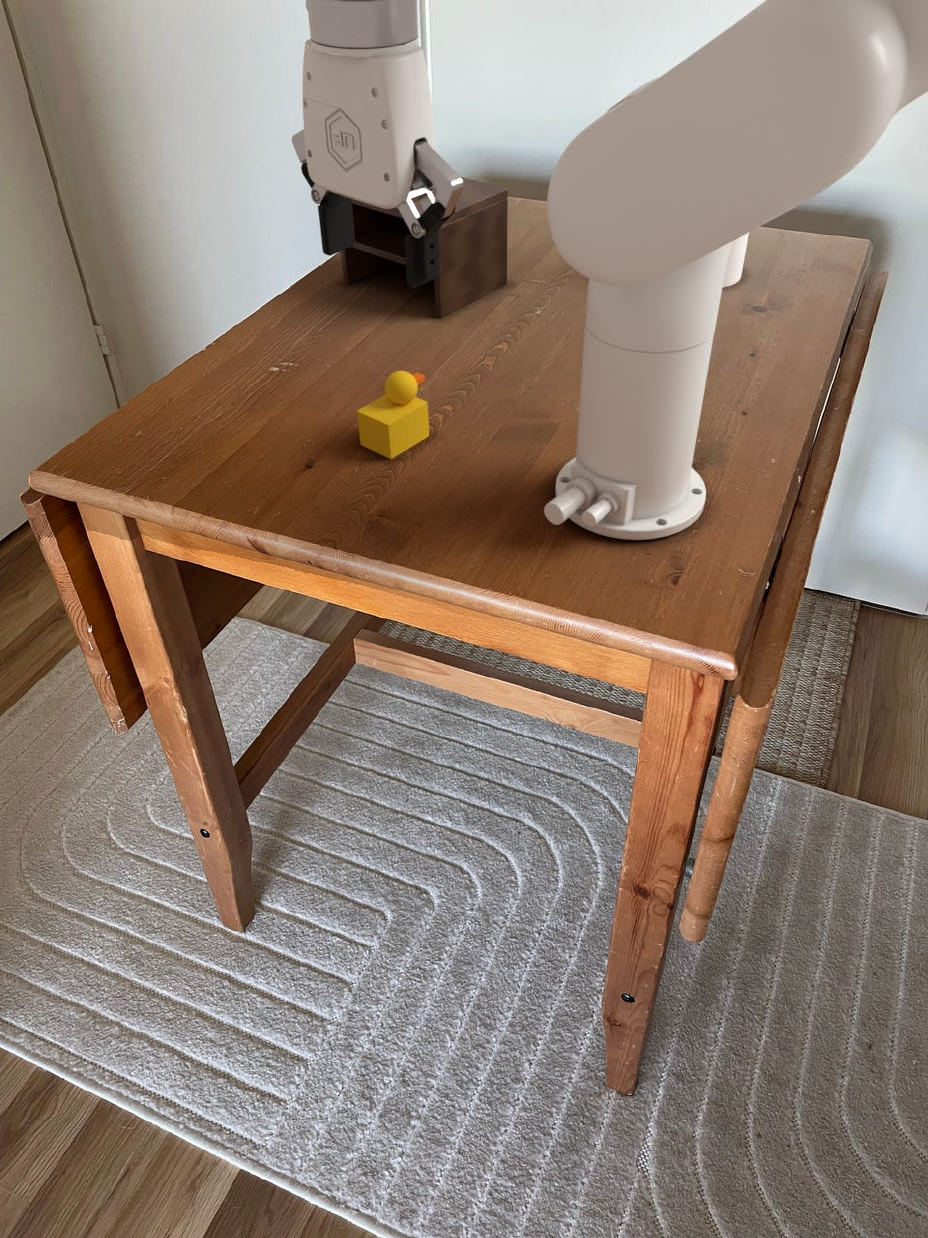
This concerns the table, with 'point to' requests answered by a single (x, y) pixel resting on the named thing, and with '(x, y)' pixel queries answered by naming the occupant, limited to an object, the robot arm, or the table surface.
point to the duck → (395, 417)
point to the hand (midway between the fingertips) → (380, 265)
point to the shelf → (464, 245)
